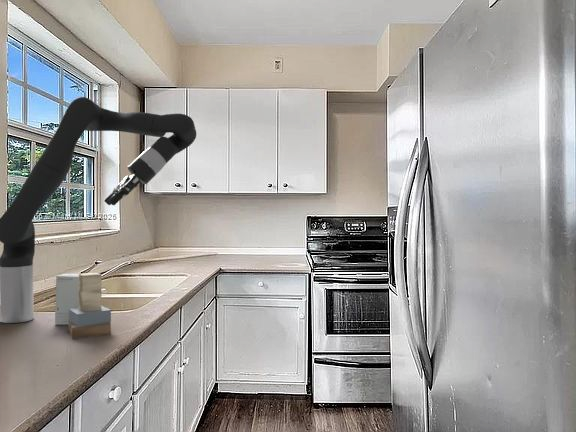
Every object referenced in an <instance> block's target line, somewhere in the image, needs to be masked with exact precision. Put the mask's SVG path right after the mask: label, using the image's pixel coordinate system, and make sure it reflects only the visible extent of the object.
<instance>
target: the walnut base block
mask: <svg viewBox="0 0 576 432" xmlns="http://www.w3.org/2000/svg"><path fill="white" fill-rule="evenodd" d="M111 323H112V322H110V323H103V324H96V325H89V326H82V327H77V326H75V325H74V324H73V323H71V322H70V321H69V325H68V332H69V334H70V337H71V339H72V340H75V339H81V338H82V337H84V338H90V337H89V336H92V337H97V336H98V335H100V336H107V335H111V332H112V331H111V329H112V328H111V326H112V324H111ZM98 337H99V336H98Z"/></svg>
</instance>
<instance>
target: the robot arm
mask: <svg viewBox="0 0 576 432" xmlns="http://www.w3.org/2000/svg"><path fill="white" fill-rule="evenodd" d="M84 132H122V133H123V132H124V133H129V134H136V135H142V136H148V137H156V138H157V139H156V140H155V141H154V142H153V143H152V144H151V145H150V146H149V147H148V148H147V149H145V150H144V151H143V152H142V153H141V154H140V155H139V156H137V157H136V158H135V159H134V160H133V161H132V162H131V163H130V164H129V165H127V170H128V172H129V173H130V175H126V176H125V177H124V178H122V179H121V181H120V182H119V183H118V184H117V185H116V187H115V188H113V190H112V192H111V193H110V194H109V195H108V196H107V197H105V199H104V203H106V204H107V205H108V206H115V205H117V204H118V203H119V202H120V201H121V200H122V199H123V198H124V197H126V196H128V195H129V194H130V193H132V191H133V190H134V189H136V188H137V187H138V185H139V184H140V183H141V184H143V185H148V183H149V182H150V181H151V180H153V178H155V177H156V176H157V174H158V173H159V172H161V170H163V169H164V167H165V166H166V165H167V164H168V162H170V161H171V160H172V159H173V157H174V156H175V155H177V154H178V153H181V152H182V151H184V150H185V149H187V148H188V147H190V146H191V145H192V144H194V142H195V140H196V138H197V130H196V126H195V122H194V120H193V118H192V117H191V116H189V115H186V114H184V113H169V114H168V113H167V114H157V113H152V112H151V113H150V112H142V111H140V112H139V111H135V112H134V111H133V112H121V111H120V112H119V111H114V110H110V109H107V108H104V107H101V106H100V105H98V104H97V103H96V102H94V101H93V100H92V99H90V98H88V97H86V96H79V97H76V98H75V99H73V100H72V101H71V102H70V103H69V105H68V106H67V108H66V110H65V112H64V114H63V116H62V118H61V121H60V123H59V124H58V127H57V129H56V131H55V132H54V134H53V136H52V138H51V139H50V141H49V142H48V144H47V146H46V147H45V148H44V151H43V152H42V154H41V155H40V156H39V158H38V160H37V161H36V163H35V164H34V166H33V167H32V169H31V171H30V173H29V175H28V177H27V178H26V180H25V181H24V183H23V185H22V186H21V189H19V192H18V194H17V196H16V197H15V198H14V200H13V201H12V203H11V204H10V206H8V208H7V209H6V210H5V211H4V213H3V214H2V215H1V217H0V243H1V244H3V249H2V253H1V255H0V323H4V324H14V323H15V324H16V323H17V324H19V323H24V322H29V321H32V320H34V319H35V318H34V317H35V316H34V315H35V314H34V312H35V309H34V308H35V307H34V300H35V299H34V256H35V250H36V248H35V247H36V246H35V245H36V244H35V241H36V233H35V232H36V230H35V225H34V222H33V220H34V218H35V217H36V214H37V213H38V211H39V210H40V208H41V207H42V206H43V205H44V204H45V203H46V202H47V201H48V200H49V199H50V198H51V196H53V195H54V193H55V192H56V191H58V189H59V187H61V184H62V183H63V181H64V180H65V178H66V177H67V175H68V174H69V172H70V169H71V166H72V163H73V158H74V153H75V149H76V145H77V143H78V141H79V139H80V138H81V136H82V135H83V134H84ZM166 133H167V134H169V133H171V135H170V136H168V137H167V136H165V135H166Z"/></svg>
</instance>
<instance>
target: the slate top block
mask: <svg viewBox="0 0 576 432" xmlns="http://www.w3.org/2000/svg"><path fill="white" fill-rule="evenodd" d="M69 321H70V322H71V323H73V324H74V325H75V326H77V327H82V326H89V325H96V324H103V323H112V310H111V309H110V308H108V307H106V306H104V305H102V304H101V310H94V311H85V312H83V311H81V310H80V309H79V308H72V309H69Z"/></svg>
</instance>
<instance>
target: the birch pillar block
mask: <svg viewBox="0 0 576 432" xmlns="http://www.w3.org/2000/svg"><path fill="white" fill-rule="evenodd" d="M78 274H79V309H80V310H81V311H83V312H85V311H94V310H101V305H102V274H101V273H99V272H85V273H78Z"/></svg>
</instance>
